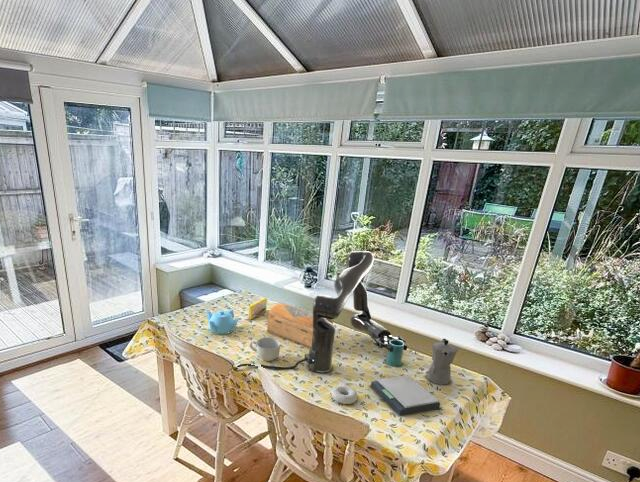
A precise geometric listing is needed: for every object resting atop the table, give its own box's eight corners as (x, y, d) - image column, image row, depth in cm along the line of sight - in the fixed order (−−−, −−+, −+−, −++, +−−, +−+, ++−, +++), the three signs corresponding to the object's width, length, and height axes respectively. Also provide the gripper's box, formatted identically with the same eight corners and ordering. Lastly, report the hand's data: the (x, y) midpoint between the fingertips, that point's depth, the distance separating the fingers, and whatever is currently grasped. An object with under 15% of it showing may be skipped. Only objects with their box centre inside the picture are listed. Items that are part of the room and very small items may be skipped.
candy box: (251, 320, 227) (251, 306, 224) (248, 319, 228) (248, 305, 225) (266, 311, 240) (266, 297, 237) (263, 310, 241) (263, 297, 238)
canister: (391, 367, 181) (394, 346, 177) (383, 360, 187) (386, 340, 183) (404, 365, 183) (407, 345, 179) (395, 358, 189) (398, 338, 185)
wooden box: (333, 339, 207) (335, 313, 201) (314, 350, 195) (316, 323, 190) (285, 322, 225) (287, 298, 220) (266, 331, 214) (267, 306, 208)
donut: (352, 390, 163) (327, 391, 163) (353, 383, 162) (328, 383, 161) (360, 405, 154) (334, 406, 153) (362, 397, 153) (335, 398, 152)
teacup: (283, 355, 190) (283, 339, 187) (274, 365, 181) (274, 349, 178) (255, 349, 195) (255, 334, 192) (245, 359, 186) (246, 343, 183)
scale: (399, 415, 149) (400, 408, 148) (370, 386, 166) (371, 379, 165) (439, 408, 153) (440, 401, 152) (406, 380, 171) (408, 374, 170)
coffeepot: (451, 389, 165) (460, 349, 158) (426, 384, 168) (434, 345, 162) (449, 371, 179) (457, 333, 172) (426, 367, 182) (433, 330, 175)
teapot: (239, 335, 210) (239, 315, 205) (209, 337, 206) (209, 317, 202) (233, 323, 223) (233, 304, 219) (206, 325, 220) (205, 306, 216)
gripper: (366, 327, 191) (386, 343, 176) (393, 324, 195) (415, 339, 180) (364, 342, 194) (383, 358, 179) (390, 339, 198) (412, 354, 183)
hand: (399, 349), depth 180 cm, fingers closed on canister, 6 cm apart
